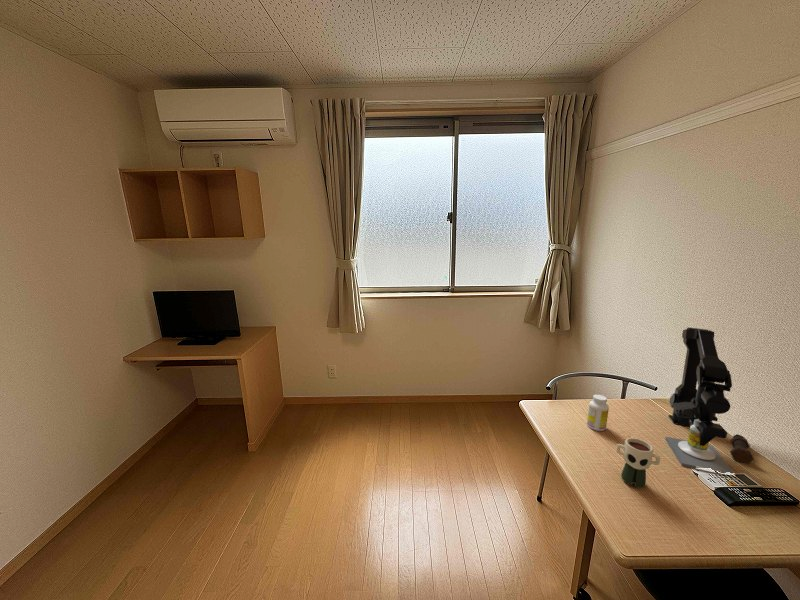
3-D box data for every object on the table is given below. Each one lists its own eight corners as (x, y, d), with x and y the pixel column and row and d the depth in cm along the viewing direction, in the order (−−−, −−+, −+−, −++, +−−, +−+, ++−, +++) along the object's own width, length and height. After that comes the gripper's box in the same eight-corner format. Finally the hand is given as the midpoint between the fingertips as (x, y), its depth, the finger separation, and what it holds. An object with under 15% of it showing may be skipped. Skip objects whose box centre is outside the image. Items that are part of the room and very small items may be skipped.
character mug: (611, 481, 105) (617, 444, 103) (612, 468, 111) (618, 432, 109) (655, 496, 100) (662, 457, 97) (653, 481, 105) (660, 444, 103)
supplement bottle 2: (711, 451, 116) (716, 426, 115) (698, 453, 116) (703, 427, 114) (695, 441, 122) (700, 417, 120) (682, 443, 121) (687, 419, 119)
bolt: (739, 448, 126) (742, 467, 114) (725, 437, 128) (726, 455, 117) (753, 439, 123) (758, 457, 112) (738, 428, 125) (741, 445, 114)
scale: (665, 438, 127) (665, 434, 127) (712, 448, 122) (712, 443, 122) (682, 466, 112) (682, 462, 112) (736, 478, 107) (737, 473, 107)
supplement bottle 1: (606, 425, 136) (610, 396, 133) (605, 433, 130) (610, 403, 128) (587, 420, 139) (591, 391, 137) (585, 428, 134) (589, 398, 131)
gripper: (668, 384, 126) (661, 422, 129) (688, 408, 109) (680, 450, 112) (705, 389, 122) (697, 428, 125) (732, 415, 105) (722, 459, 108)
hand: (698, 440), depth 118 cm, fingers closed on supplement bottle 2, 5 cm apart
